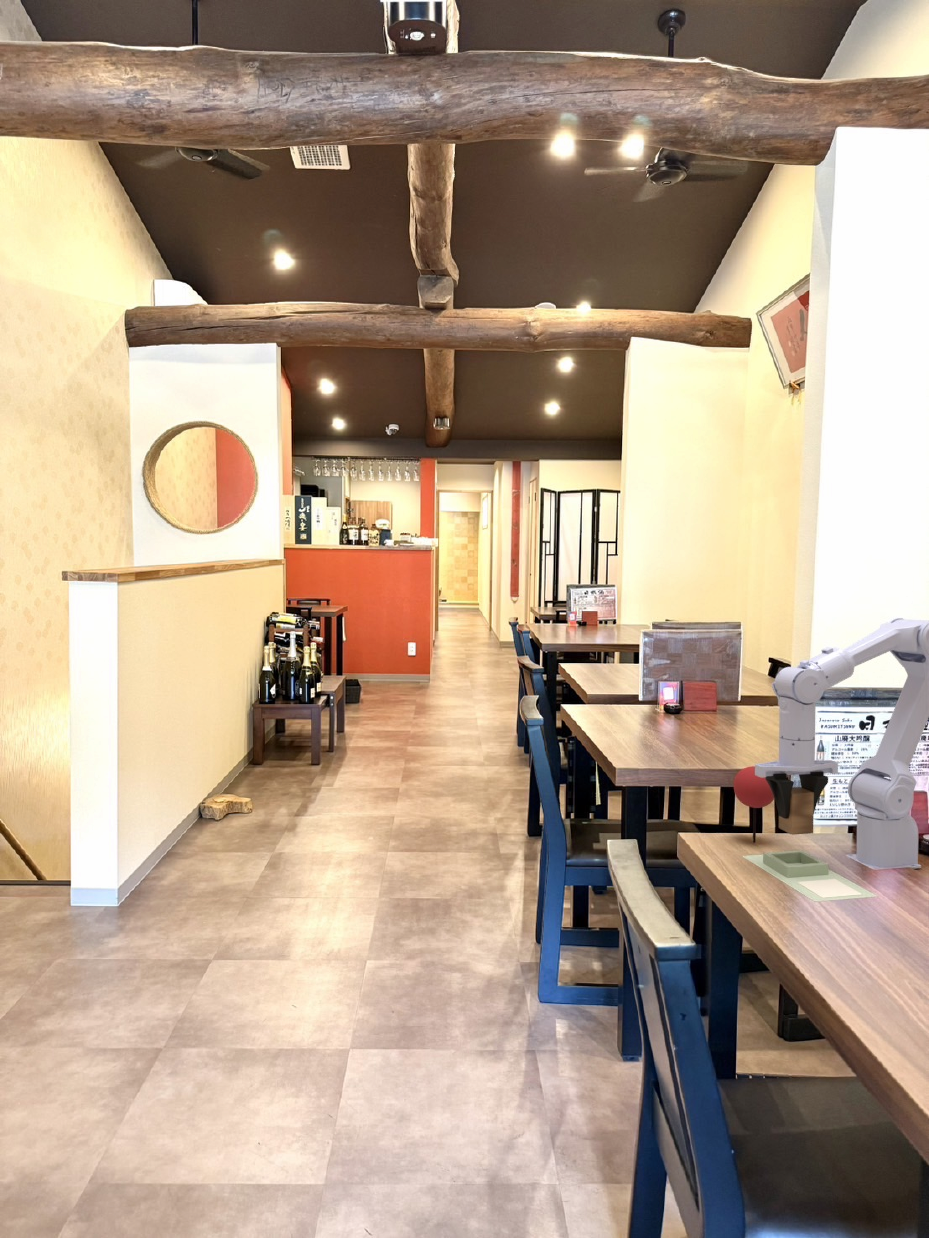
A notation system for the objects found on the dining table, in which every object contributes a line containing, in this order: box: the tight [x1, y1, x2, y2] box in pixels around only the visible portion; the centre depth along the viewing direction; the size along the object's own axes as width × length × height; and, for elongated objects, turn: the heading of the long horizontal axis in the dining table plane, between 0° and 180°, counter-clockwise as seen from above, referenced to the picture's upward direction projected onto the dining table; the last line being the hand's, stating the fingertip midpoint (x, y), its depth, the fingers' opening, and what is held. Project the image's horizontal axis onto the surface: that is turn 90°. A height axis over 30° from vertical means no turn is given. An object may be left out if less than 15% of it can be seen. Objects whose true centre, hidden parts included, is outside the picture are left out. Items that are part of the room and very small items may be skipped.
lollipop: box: [733, 765, 775, 844], centre depth 159 cm, size 8×8×15 cm
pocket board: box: [741, 849, 879, 903], centre depth 142 cm, size 11×22×2 cm, turn 11°
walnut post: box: [778, 786, 815, 836], centre depth 144 cm, size 4×4×7 cm
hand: (795, 816), depth 144 cm, fingers closed on walnut post, 4 cm apart
